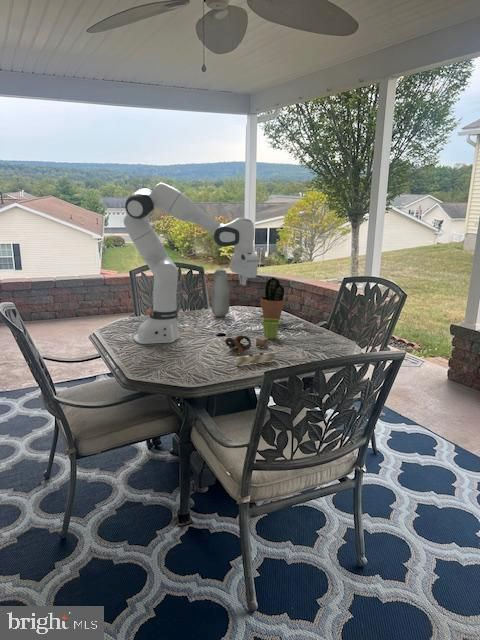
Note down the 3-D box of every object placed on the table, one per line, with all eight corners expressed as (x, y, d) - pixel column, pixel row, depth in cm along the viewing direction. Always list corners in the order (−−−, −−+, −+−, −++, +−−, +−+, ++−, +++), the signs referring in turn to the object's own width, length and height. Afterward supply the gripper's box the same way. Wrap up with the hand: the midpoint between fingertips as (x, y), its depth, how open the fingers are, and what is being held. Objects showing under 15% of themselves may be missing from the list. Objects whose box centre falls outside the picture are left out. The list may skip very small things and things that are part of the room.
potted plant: (257, 322, 257) (258, 278, 251) (262, 316, 270) (264, 275, 263) (280, 324, 253) (283, 280, 247) (285, 319, 266) (287, 276, 259)
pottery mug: (248, 347, 214) (253, 335, 209) (246, 362, 207) (251, 350, 202) (223, 341, 213) (228, 329, 208) (221, 355, 206) (225, 343, 201)
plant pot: (257, 338, 228) (258, 321, 226) (265, 333, 236) (266, 317, 234) (275, 341, 224) (275, 324, 222) (282, 336, 232) (283, 320, 230)
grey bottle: (219, 313, 274) (219, 267, 267) (232, 316, 268) (233, 269, 261) (208, 316, 267) (208, 269, 260) (220, 319, 261) (221, 271, 253)
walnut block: (262, 348, 213) (262, 340, 212) (255, 346, 216) (256, 338, 215) (267, 346, 216) (268, 338, 215) (261, 344, 218) (261, 336, 217)
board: (237, 367, 188) (238, 356, 186) (235, 365, 189) (236, 355, 188) (275, 361, 195) (275, 351, 194) (273, 360, 197) (273, 350, 196)
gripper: (227, 252, 214) (227, 281, 217) (247, 257, 196) (246, 288, 200) (239, 251, 217) (239, 280, 220) (260, 257, 199) (259, 288, 203)
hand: (242, 284), depth 210 cm, fingers closed
